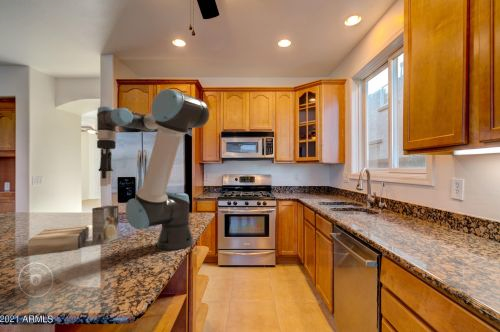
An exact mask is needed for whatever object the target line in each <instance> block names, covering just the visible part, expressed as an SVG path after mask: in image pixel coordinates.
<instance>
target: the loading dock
mask: <svg viewBox="0 0 500 332" xmlns="http://www.w3.org/2000/svg"><path fill="white" fill-rule="evenodd" d="M89 231H90V227H89V226H87V225H83V226H72V227H61V228H60V227H59V228H50V229H44V230H42V231H41V232H39V233H37V234H35V235H34V236H31V238H29V239H28V243H27V245H28V247H27V248H28V249H27V253H28V254H27V255H28V256H33V255H34V256H35V255H40V254H41V255H42V254H50V253H60V252H66V251H67V252H68V251H74V250H76V251H77V250H79V249H81V248H82V247H83V246H84V244H85V243H86V241H87V240H88V239H89V234H90V233H89Z"/></svg>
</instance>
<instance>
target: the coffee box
mask: <svg viewBox="0 0 500 332" xmlns="http://www.w3.org/2000/svg"><path fill="white" fill-rule="evenodd" d="M91 211H92V212H91V213H92V215H91V216H92V218H91V219H92V221H91V223H92V224H91V225H92V228H91V229H92V233H91V235H92V237H91V238H92V239H91V240H92V242H91V243H92V244H96V245H97V244H98V245H99V244H100V245H105V244H108V243H109V242H112V241H116V240H117V239H119V205H104V206H98V207H93V208H92V209H91Z"/></svg>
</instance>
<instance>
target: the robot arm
mask: <svg viewBox="0 0 500 332" xmlns="http://www.w3.org/2000/svg"><path fill="white" fill-rule="evenodd" d="M150 110H151V113H145V114H144V113H139V112H138V113H137V112H134V111H131V110H129V109H128V108H126V107H118V108H114V107H112V106H99V107H98V108H97V113H96V117H97V119H96V121H97V124H96V126H97V129H96V131H97V132H95V135H96V137H97V141H96V148H97V149H100V161H99V162H100V164H99V168H98V172H100V179H99V180H100V182H99V183H100V185H99V186H100V187H108V185H112V172H113V171H114V169H112V154H113V153H112V151H111V150H115V149H116V147H117V145H116V144H117V143H116V140H117V136H116V135H117V134H116V133H117V130H116V128H117V127H124V128H129V129H136V130H142V131H147V132H153V131H155V130H157V131H156V135H155V140H154V142H153V143H154V144H153V147H152V151H151V154H150V159H149V161H148V166H147V170H146V173H145V176H144V177H145V178H144V180H143V184H142V187H141V188H140V189H138V190H137V191H136V194H135V198H131V199H129V200H128V201H127V202H126V205H125V214H126V215H125V216H126V219H127V221H128V223H129V225H131V227H132V228H134V229H137V230H140V229H148V228H150V227H151V228H152V227H156V226H160V225H161V229H160V232H159V235H158V237H157V238H158V239H157V241H156V243H157V244H156V247H157V248H158V249H160V250H166V251H167V250H168V251H171V250H172V251H173V250H174V251H175V250H180V249H185V248H189V247H191V246H192V245H193V244H194V237H193V233H192V231H191V229H190V199H189V197H190V196H189V195H188V194H187V193H181V192H169V191H167V189H168V185H169V181H170V179H171V178H170V176H171V174H172V170H173V167H174V164H175V161H176V160H175V159H176V156H177V153H178V149H179V147H180V143H181V139H182V137H183V136H184V135H186V134H187V133H188V131H189V129H198V128H202V127H204V126H205V125H206V124H207V123H208V121H209V118H210V109H209V107H208V105H207V103H206V102H204V100H202V99H200V98H198V97H194V96H193V95H190V94H187V93H184V92H181V91H180V90H175V89H170V88H165V89H163V90H161V91H160V92H158V93H157V94H156V95H155V97H154V99H153V101H152V104H151V109H150Z"/></svg>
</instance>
